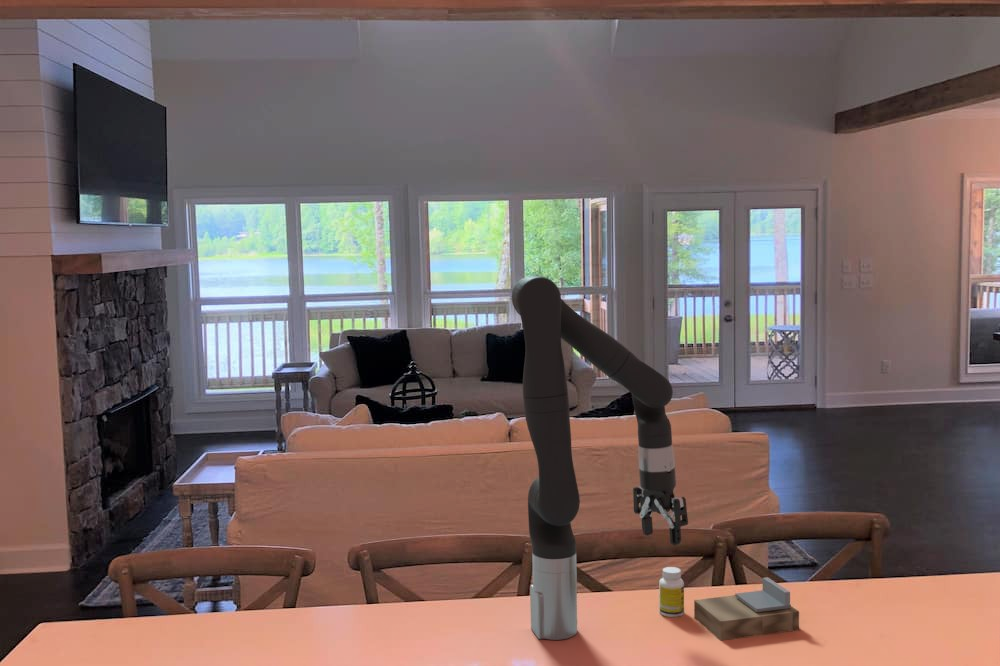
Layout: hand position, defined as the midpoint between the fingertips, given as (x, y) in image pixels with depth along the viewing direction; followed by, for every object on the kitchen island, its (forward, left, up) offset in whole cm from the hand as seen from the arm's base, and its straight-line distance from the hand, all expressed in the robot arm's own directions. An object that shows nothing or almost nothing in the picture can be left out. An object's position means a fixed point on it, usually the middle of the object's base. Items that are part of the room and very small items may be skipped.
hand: (661, 539), depth 195 cm
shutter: (+20, -6, -14) cm, 26 cm away
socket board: (+16, -6, -18) cm, 25 cm away
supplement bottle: (+4, +4, -19) cm, 19 cm away
